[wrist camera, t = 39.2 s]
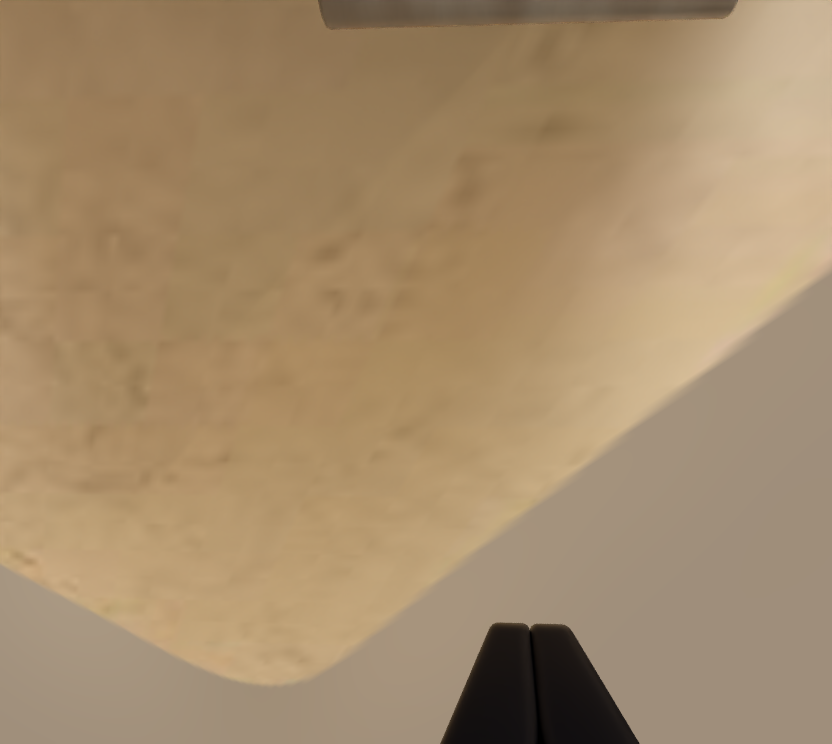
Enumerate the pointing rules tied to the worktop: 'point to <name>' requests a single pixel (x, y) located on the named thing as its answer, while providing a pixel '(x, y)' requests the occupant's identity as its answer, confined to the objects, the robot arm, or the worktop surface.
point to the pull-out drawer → (511, 12)
